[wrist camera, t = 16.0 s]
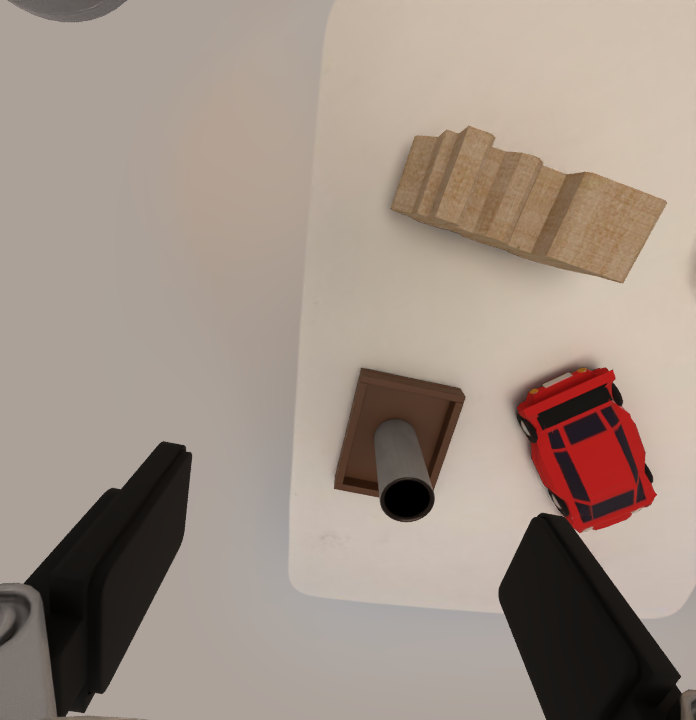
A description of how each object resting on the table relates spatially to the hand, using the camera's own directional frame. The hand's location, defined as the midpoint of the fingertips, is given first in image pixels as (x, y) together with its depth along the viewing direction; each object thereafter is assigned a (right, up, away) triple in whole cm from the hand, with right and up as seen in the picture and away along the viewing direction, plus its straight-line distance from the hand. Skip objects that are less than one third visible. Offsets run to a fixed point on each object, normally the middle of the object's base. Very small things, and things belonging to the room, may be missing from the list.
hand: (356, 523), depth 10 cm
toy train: (+12, +18, +25) cm, 33 cm away
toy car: (+25, -5, +32) cm, 41 cm away
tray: (+5, -4, +32) cm, 33 cm away
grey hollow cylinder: (+5, -4, +32) cm, 32 cm away
